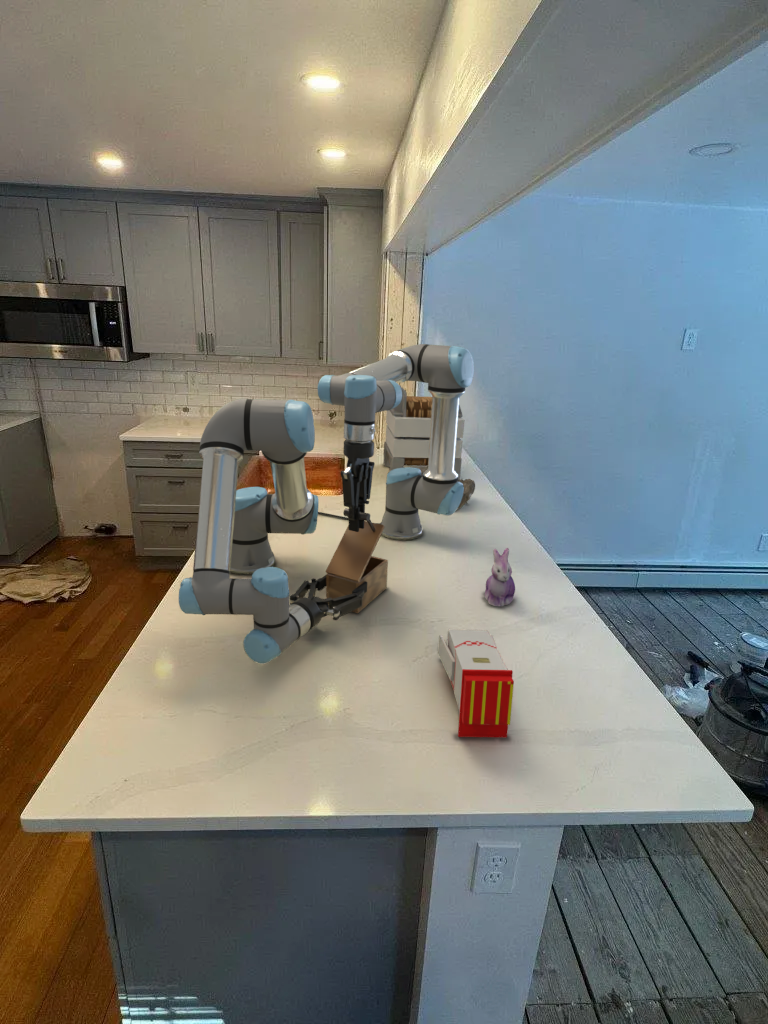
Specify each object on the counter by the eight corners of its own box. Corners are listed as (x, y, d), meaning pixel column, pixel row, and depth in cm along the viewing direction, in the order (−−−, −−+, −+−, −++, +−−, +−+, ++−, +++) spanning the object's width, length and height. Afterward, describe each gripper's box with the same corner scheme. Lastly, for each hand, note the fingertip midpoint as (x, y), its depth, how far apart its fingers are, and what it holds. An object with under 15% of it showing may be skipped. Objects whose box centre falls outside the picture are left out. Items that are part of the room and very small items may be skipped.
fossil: (439, 484, 243) (468, 465, 238) (451, 501, 246) (481, 483, 241) (438, 506, 224) (470, 486, 219) (452, 524, 226) (484, 505, 221)
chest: (356, 579, 165) (357, 552, 162) (386, 587, 160) (387, 560, 157) (326, 603, 151) (326, 574, 148) (357, 613, 147) (358, 583, 144)
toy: (488, 613, 130) (523, 677, 101) (484, 667, 133) (517, 744, 104) (435, 612, 130) (455, 676, 101) (432, 666, 133) (451, 743, 103)
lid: (353, 519, 155) (342, 502, 148) (384, 527, 151) (375, 509, 144) (326, 573, 148) (314, 557, 141) (359, 582, 144) (348, 566, 137)
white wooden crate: (382, 463, 289) (386, 382, 275) (445, 464, 293) (451, 384, 279) (390, 482, 257) (394, 392, 243) (460, 483, 261) (468, 394, 247)
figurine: (497, 611, 151) (503, 559, 146) (474, 594, 159) (479, 545, 154) (524, 604, 155) (532, 554, 150) (501, 588, 163) (507, 540, 158)
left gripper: (260, 619, 137) (313, 583, 155) (339, 646, 127) (385, 605, 146) (259, 591, 134) (313, 558, 153) (340, 617, 125) (386, 578, 143)
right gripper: (356, 448, 132) (354, 541, 140) (386, 436, 144) (382, 523, 152) (329, 443, 135) (328, 535, 143) (360, 433, 147) (358, 517, 155)
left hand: (348, 581), depth 149 cm, fingers closed on chest, 10 cm apart
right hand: (356, 528), depth 147 cm, fingers closed on lid, 2 cm apart
